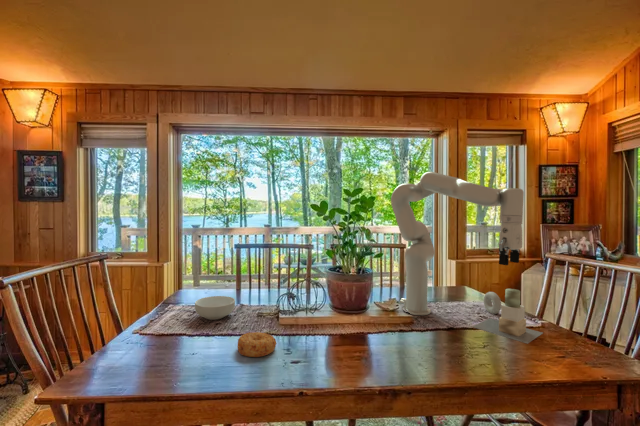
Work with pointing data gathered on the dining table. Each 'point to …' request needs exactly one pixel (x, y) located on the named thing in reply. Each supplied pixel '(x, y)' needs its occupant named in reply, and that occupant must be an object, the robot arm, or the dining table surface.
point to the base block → (512, 326)
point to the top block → (512, 313)
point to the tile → (493, 327)
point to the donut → (496, 301)
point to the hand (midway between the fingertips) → (509, 263)
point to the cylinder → (512, 298)
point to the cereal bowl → (214, 307)
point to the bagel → (256, 344)
